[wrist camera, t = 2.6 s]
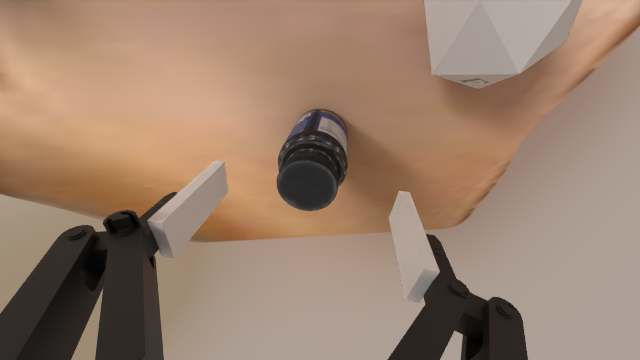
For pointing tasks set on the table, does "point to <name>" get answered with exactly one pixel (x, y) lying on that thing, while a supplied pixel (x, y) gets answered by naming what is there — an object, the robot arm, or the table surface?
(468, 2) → the die
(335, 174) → the pill bottle
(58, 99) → the table surface
